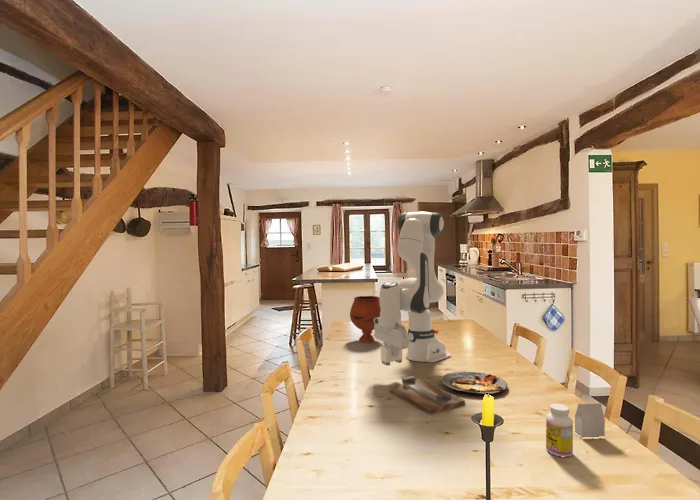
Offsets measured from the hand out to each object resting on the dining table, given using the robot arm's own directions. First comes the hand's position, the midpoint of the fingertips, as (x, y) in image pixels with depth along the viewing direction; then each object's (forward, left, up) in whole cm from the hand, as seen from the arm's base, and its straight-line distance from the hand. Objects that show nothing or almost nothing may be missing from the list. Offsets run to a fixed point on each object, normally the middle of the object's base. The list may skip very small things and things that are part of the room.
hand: (391, 354), depth 174 cm
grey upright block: (-23, +70, -11) cm, 75 cm away
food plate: (-24, +23, -11) cm, 35 cm away
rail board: (0, +22, -11) cm, 25 cm away
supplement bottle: (-7, +71, -11) cm, 72 cm away
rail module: (0, 0, -4) cm, 4 cm away
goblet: (-25, -60, -11) cm, 65 cm away
